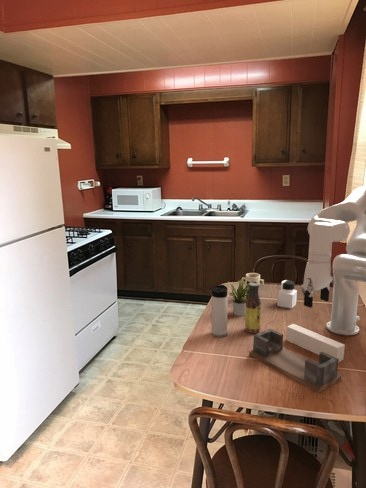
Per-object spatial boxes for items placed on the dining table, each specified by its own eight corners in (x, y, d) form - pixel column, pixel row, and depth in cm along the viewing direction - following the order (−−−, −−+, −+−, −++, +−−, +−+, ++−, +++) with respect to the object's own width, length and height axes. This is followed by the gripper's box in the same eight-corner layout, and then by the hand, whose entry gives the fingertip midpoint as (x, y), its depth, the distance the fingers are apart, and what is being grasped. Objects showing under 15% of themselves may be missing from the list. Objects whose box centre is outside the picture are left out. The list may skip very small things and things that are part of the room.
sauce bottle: (260, 334, 159) (261, 287, 154) (244, 333, 160) (245, 286, 155) (260, 327, 165) (262, 282, 160) (245, 326, 166) (246, 281, 162)
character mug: (239, 301, 195) (240, 275, 192) (243, 296, 201) (243, 271, 198) (261, 303, 191) (262, 278, 188) (264, 298, 197) (265, 274, 194)
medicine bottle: (296, 304, 190) (297, 280, 187) (291, 309, 184) (293, 284, 181) (281, 301, 193) (283, 278, 191) (277, 306, 188) (278, 282, 185)
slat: (286, 340, 154) (286, 326, 153) (292, 337, 156) (293, 323, 155) (336, 363, 137) (338, 348, 135) (343, 360, 139) (344, 344, 138)
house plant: (263, 319, 173) (264, 283, 170) (234, 323, 169) (235, 287, 166) (249, 307, 187) (250, 274, 183) (221, 310, 183) (222, 277, 179)
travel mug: (229, 331, 161) (230, 285, 157) (223, 338, 155) (224, 290, 151) (214, 329, 164) (215, 283, 159) (209, 335, 158) (209, 288, 153)
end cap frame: (271, 345, 150) (272, 327, 148) (340, 379, 127) (342, 358, 125) (249, 355, 143) (249, 336, 141) (318, 392, 120) (320, 370, 118)
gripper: (324, 251, 146) (321, 295, 150) (295, 259, 136) (292, 305, 140) (343, 255, 141) (339, 301, 144) (313, 264, 130) (310, 312, 134)
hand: (316, 303), depth 142 cm, fingers open, 9 cm apart
